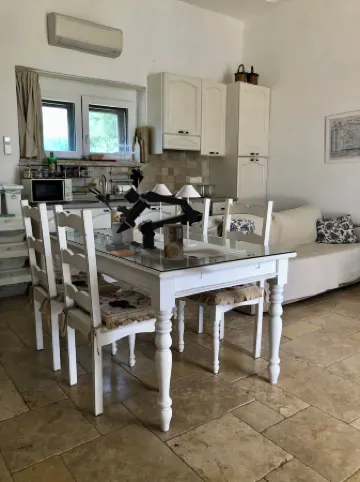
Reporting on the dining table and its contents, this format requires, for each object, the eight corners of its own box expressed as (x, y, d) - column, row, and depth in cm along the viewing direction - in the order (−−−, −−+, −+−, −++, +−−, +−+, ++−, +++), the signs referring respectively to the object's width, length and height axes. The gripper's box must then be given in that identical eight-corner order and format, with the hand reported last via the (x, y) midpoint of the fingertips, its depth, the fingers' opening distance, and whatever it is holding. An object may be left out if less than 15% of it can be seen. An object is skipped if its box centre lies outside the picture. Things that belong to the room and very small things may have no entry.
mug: (130, 239, 240) (130, 219, 237) (135, 241, 234) (135, 220, 232) (114, 241, 234) (114, 220, 232) (119, 243, 229) (118, 221, 226)
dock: (140, 253, 204) (140, 247, 203) (119, 256, 196) (118, 250, 195) (120, 247, 218) (120, 241, 218) (99, 250, 210) (99, 244, 210)
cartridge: (124, 246, 211) (123, 222, 209) (116, 247, 208) (115, 223, 206) (119, 244, 215) (118, 221, 213) (111, 245, 212) (110, 222, 210)
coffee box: (183, 257, 194) (182, 223, 191) (183, 260, 188) (183, 225, 185) (163, 257, 194) (163, 223, 191) (163, 260, 188) (163, 225, 184)
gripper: (122, 197, 217) (102, 219, 216) (128, 200, 200) (106, 224, 199) (137, 212, 221) (117, 233, 220) (144, 216, 203) (123, 239, 202)
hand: (116, 232), depth 210 cm, fingers closed on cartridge, 5 cm apart
